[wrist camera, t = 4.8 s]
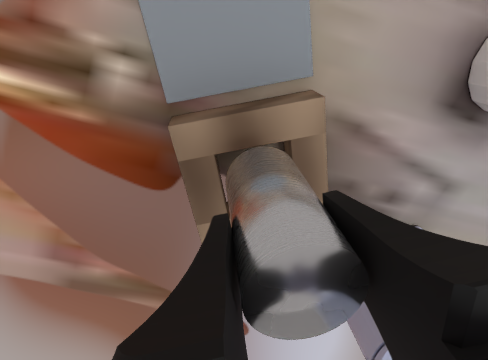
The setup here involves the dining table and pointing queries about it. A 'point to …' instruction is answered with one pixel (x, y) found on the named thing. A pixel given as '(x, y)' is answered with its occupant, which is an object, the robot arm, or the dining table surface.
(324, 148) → the socket block
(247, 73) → the slate mat
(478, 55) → the white cup
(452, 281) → the robot arm
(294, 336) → the steel peg
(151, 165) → the dining table surface
